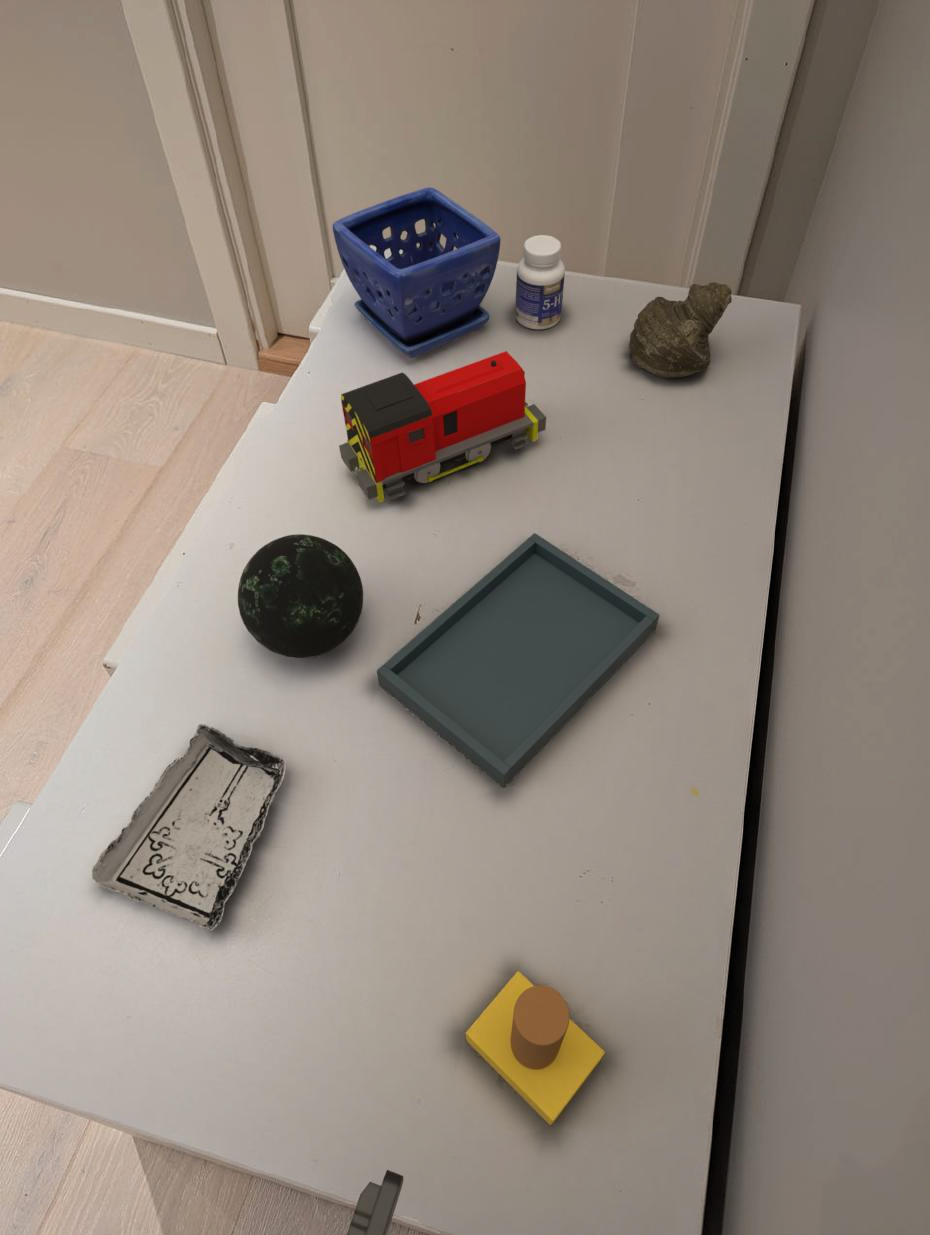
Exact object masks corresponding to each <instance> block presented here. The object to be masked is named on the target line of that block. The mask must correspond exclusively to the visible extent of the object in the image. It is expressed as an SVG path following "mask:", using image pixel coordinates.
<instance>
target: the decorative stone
mask: <svg viewBox="0 0 930 1235" xmlns="http://www.w3.org/2000/svg"><path fill="white" fill-rule="evenodd" d="M363 587H364V586H363V583H362V578H361V576H360V573H359V570H358V569H357V567H356V565H355V564H354V562H353V561H352V559H351V557H349V555H348V554H347V553H346V552H345V551H344V550H343V549H342V548H340V547H339V546H338V545H336V544H334V543H332V542H331V541H329V540H327V539H325V538H323V537H320V536H315V535H311V534H304V533H303V534H301V533H299V534H288V535H285V536H282V537H279V538H275V539H273V540H272V541H270V542H268V543H266V544H264V545H263V546H262V547H261V548H259V549H258V550H257V551H256V552H255V553H254V554H253V555H252V556H251V557H250V559H249V561H248V562H247V563H246V565H245V566H244V567H243V570H242V573H241V576H240V578H239V582H238V587H237V588H238V589H237V606H238V610H239V615H240V618H241V620H242V622H243V624H244V626H245V629H246V630H247V631H248V632H249V634H250V635H251V636H252V637H253V639H255V640H256V642H258V643H259V644H260V645H261V646H263V647H264V648H266V649H267V650H268V651H270V652H273V653H275V654H277V655H280V656H283V657H287V658H293V659H294V658H295V659H309V658H314V657H318V656H321V655H324V654H327V653H329V652H331V651H333V650H334V649H336V648H337V647H339V646H340V645H341V644H343V643H344V642H345V641H346V640H347V639H348V638H349V637H350V635H351V634H352V633H353V631H354V630H355V628H356V627H357V624H358V623H359V620H360V618H361V615H362V611H363V606H364V588H363Z"/></svg>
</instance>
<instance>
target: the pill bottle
mask: <svg viewBox="0 0 930 1235" xmlns="http://www.w3.org/2000/svg"><path fill="white" fill-rule="evenodd" d="M561 255H562V244H561V242H560V241H559V239H557V237H556V238H555V236H551V235H545V234H538V235H534V236H531V237H528V238H527V239H526V240H525V241H524V244H523V258H521V260H520V261H519V263H518V264H517V267H516V282H515V283H516V284H515V286H516V287H515V311H514V312H515V315H514V316H515V319H516V320H517V322H518V323H519V324H520V325H521V326H523V327H525V328H528V329H531V330H547V329H550V328H552V327H554V326H555V325H557V324H558V323H559V321H560V320H561V317H562V309H563V308H562V307H563V298H564V289H565V288H564V285H565V274H566V268H565V264H564V262H563V261H562V259H561Z"/></svg>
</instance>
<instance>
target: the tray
mask: <svg viewBox="0 0 930 1235" xmlns="http://www.w3.org/2000/svg"><path fill="white" fill-rule="evenodd" d="M660 616H661V615H660V613H658V612H656V611H655V610H654V609H653V608H650V607H649V606H647V605H646V604H645V603H642V602H641V601H640V600H638V599H636V598H635V597H633V595H630V594H629V593H627V592H626V591H624V590H623V589H621V588H620V587H618V586H617V585H615V584H614V583H612V582H610V581H609V580H607V579H606V578H604V577H603V576H601V575H600V574H598V573H596V572H595V571H593V569H590V568H589V567H587V566H586V565H584V564H583V563H582V562H580V561H578V560H577V559H575V558H574V557H572V556H571V555H569V554H568V553H566V552H565V551H563V550H561V549H560V548H558V547H556V546H555V545H554V544H552V543H551V542H549V541H548V540H546V538H543V537H542V536H540V535H539V534H537V533H535V532H534V533H532V535H530V536H529V537H528V538H527V539H526V540H525V541H523V542H522V543H521V544H520V545H519V546H518V547H517V548H515V550H513V551H512V552H511V553H509V554H508V555H507V556H506V557H505V558H504V559H503V560H502V561H500V562H499V563H498V564H497V565H496V566H494V567H493V568H492V569H491V570H490V571H489V572H488V573H486V575H484V576H483V577H482V578H481V579H480V580H478V581H477V582H476V583H475V584H474V585H473V586H472V587H470V588H469V589H468V590H467V591H466V592H465V593H464V594H463V595H461V596H460V597H459V598H458V599H457V600H456V601H454V603H452V604H451V605H450V606H449V607H448V608H446V609H445V610H444V611H443V612H442V613H440V615H438V616H437V617H436V618H435V619H434V620H432V621H431V622H430V623H429V624H428V625H427V626H426V627H425V628H424V629H422V630H421V631H420V632H418V634H417V635H415V636H414V637H413V638H412V639H411V640H409V641H408V642H407V643H406V644H405V645H404V646H403V647H401V649H400V650H398V651H397V652H396V653H395V654H394V655H392V657H390V658H389V659H388V660H387V661H385V663H384V664H382V665H381V666H379V667H378V669H376V676H377V679H378V685H379V687H381V688H382V689H383V690H385V691H386V692H387V693H388V694H389V695H391V696H392V697H393V698H395V699H396V700H397V701H398V702H399V703H400V704H402V706H404V707H406V709H408V710H409V711H410V712H411V713H413V714H414V715H415V716H416V717H417V718H418V719H419V720H421V722H423V723H424V724H426V726H429V728H430V729H432V730H433V731H434V732H435V733H437V734H438V735H439V736H440V737H441V738H443V739H444V740H445V741H446V742H448V743H449V744H450V745H451V746H452V747H454V749H456V750H457V751H458V752H460V753H461V754H462V755H463V756H465V758H467V759H468V760H469V761H470V762H472V763H473V765H475V766H477V767H478V768H479V769H480V770H481V771H482V772H483V773H485V774H486V775H487V776H489V778H491V779H492V780H493V781H494V782H496V783H497V784H498V785H499V786H500V787H501V788H505V787H506V786H508V784H509V783H511V781H512V780H513V779H515V777H516V776H517V775H518V774H519V773H520V772H521V771H522V770H523V769H524V768H525V767H526V766H527V765H528V764H529V762H531V760H532V759H533V758H534V757H536V755H538V753H539V752H540V751H541V750H542V749H543V748H544V747H545V746H546V745H547V744H548V743H549V742H550V741H551V740H552V739H553V738H554V737H555V735H557V733H558V732H559V731H560V730H562V728H563V727H564V726H565V725H566V724H567V723H568V722H569V721H570V720H571V719H572V718H573V717H574V716H575V715H576V714H577V712H579V710H581V709H582V707H583V706H585V705H586V703H588V701H589V700H590V699H591V698H592V697H593V696H594V695H595V694H596V693H597V692H598V691H599V690H600V689H601V688H602V687H603V686H604V684H605V683H606V682H607V681H608V680H609V679H611V677H612V676H613V675H614V674H615V673H616V672H617V671H618V670H619V669H620V668H622V666H623V665H624V664H625V663H626V662H627V661H628V660H629V659H630V658H631V656H632V655H634V653H635V652H636V651H637V650H638V649H639V648H640V647H641V646H643V644H644V643H645V642H646V641H647V640H648V639H649V638H650V637H651V636H652V635H653V634H654V632H656V630H657V626H658V623H659V619H660Z"/></svg>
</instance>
